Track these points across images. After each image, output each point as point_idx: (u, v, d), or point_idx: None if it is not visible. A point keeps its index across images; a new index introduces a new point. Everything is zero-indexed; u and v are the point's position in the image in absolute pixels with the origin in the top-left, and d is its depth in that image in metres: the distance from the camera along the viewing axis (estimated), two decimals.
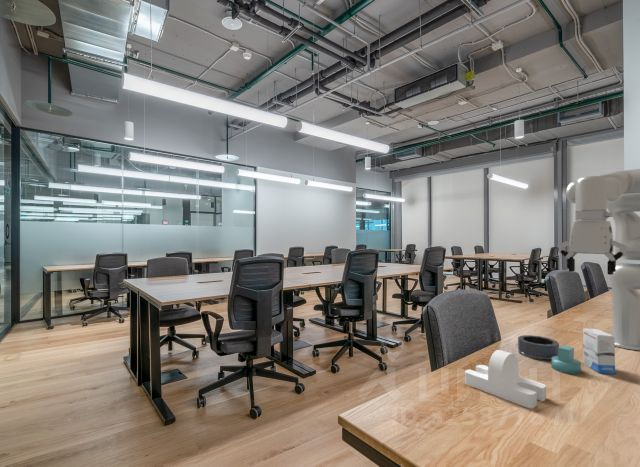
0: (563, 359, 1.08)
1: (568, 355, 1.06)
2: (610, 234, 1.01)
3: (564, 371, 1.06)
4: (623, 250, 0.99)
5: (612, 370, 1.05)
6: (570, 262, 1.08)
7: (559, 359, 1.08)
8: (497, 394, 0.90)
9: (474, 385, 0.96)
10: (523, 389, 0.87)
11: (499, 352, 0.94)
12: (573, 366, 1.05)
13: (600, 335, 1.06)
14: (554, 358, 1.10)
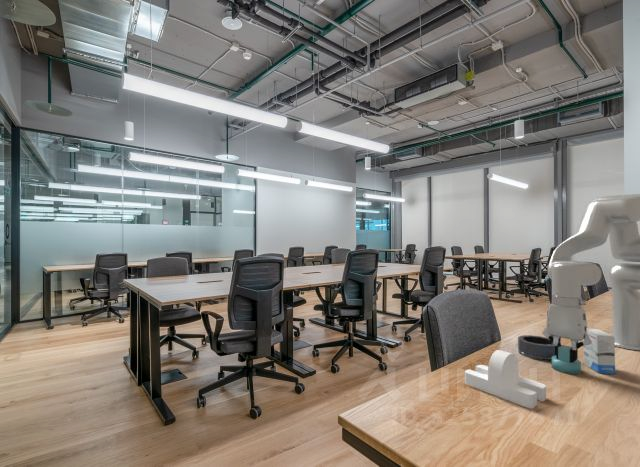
0: (563, 359, 1.08)
1: (568, 355, 1.06)
2: (584, 322, 1.04)
3: (564, 371, 1.06)
4: (585, 343, 1.04)
5: (612, 370, 1.05)
6: None
7: (559, 359, 1.08)
8: (497, 394, 0.90)
9: (474, 385, 0.95)
10: (523, 389, 0.87)
11: (499, 352, 0.94)
12: (573, 366, 1.05)
13: (600, 335, 1.06)
14: (554, 358, 1.10)
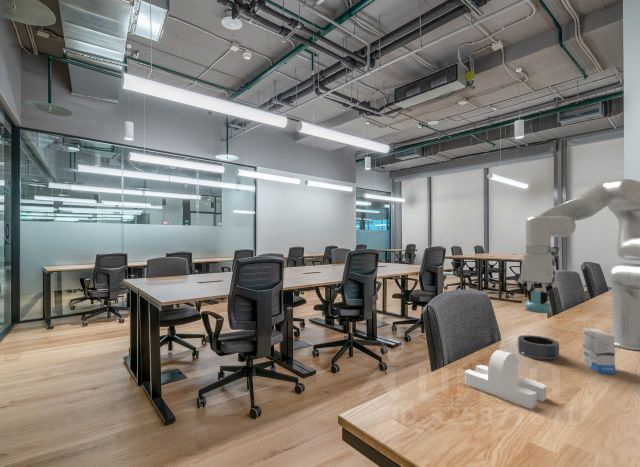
0: (535, 301, 1.21)
1: (539, 297, 1.20)
2: (553, 267, 1.18)
3: (535, 310, 1.19)
4: (554, 286, 1.18)
5: (612, 370, 1.05)
6: (530, 294, 1.23)
7: (532, 301, 1.22)
8: (497, 394, 0.90)
9: (474, 385, 0.95)
10: (523, 389, 0.87)
11: (499, 352, 0.94)
12: (543, 306, 1.18)
13: (600, 335, 1.06)
14: (527, 301, 1.24)
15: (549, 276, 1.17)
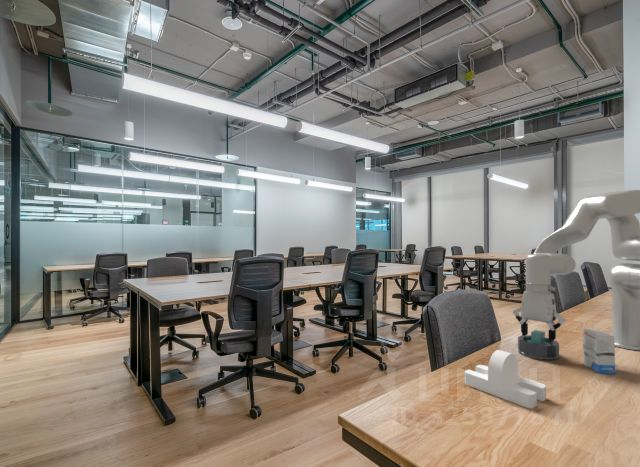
0: (535, 342, 1.21)
1: (539, 338, 1.20)
2: (553, 306, 1.18)
3: None
4: (561, 322, 1.16)
5: (612, 370, 1.05)
6: (523, 327, 1.25)
7: (532, 342, 1.22)
8: (497, 394, 0.90)
9: (474, 385, 0.95)
10: (523, 389, 0.87)
11: (499, 352, 0.94)
12: None
13: (600, 335, 1.06)
14: (528, 341, 1.24)
15: (549, 315, 1.18)
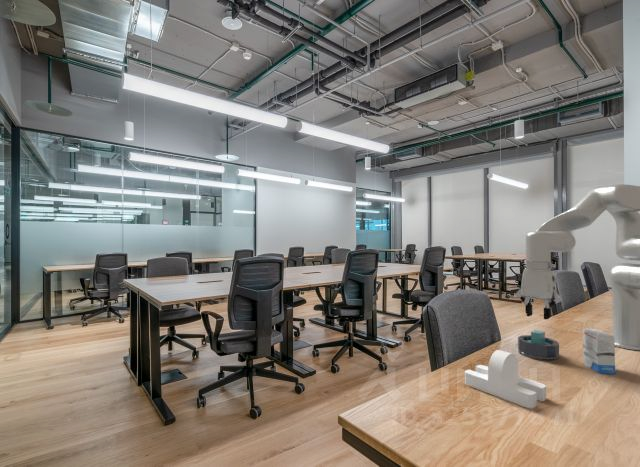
0: (535, 342, 1.21)
1: (539, 338, 1.20)
2: (553, 283, 1.18)
3: None
4: (557, 301, 1.17)
5: (612, 370, 1.05)
6: (528, 308, 1.23)
7: (532, 342, 1.22)
8: (497, 394, 0.90)
9: (474, 385, 0.95)
10: (523, 389, 0.87)
11: (499, 352, 0.94)
12: None
13: (600, 335, 1.06)
14: (528, 341, 1.24)
15: (549, 292, 1.18)
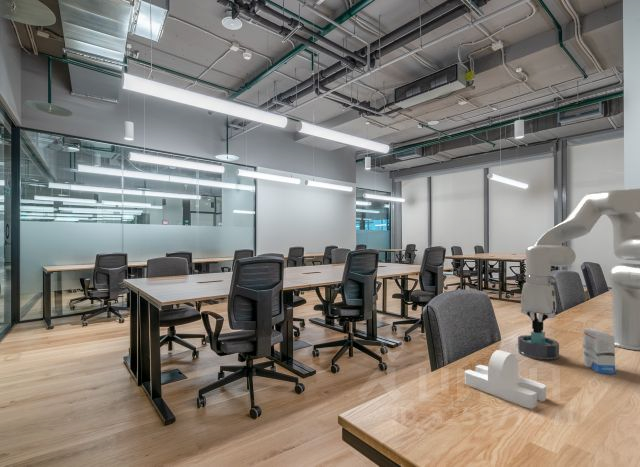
0: (535, 342, 1.21)
1: (539, 338, 1.20)
2: (553, 297, 1.18)
3: None
4: (549, 317, 1.19)
5: (612, 370, 1.05)
6: (534, 324, 1.22)
7: (532, 342, 1.22)
8: (497, 394, 0.90)
9: (474, 385, 0.95)
10: (523, 389, 0.87)
11: (499, 352, 0.94)
12: None
13: (600, 335, 1.06)
14: (528, 341, 1.24)
15: (549, 307, 1.18)
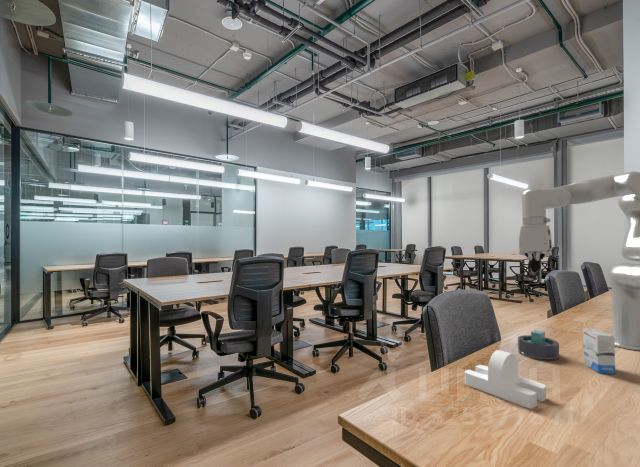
0: (535, 342, 1.21)
1: (539, 338, 1.20)
2: (549, 236, 1.25)
3: None
4: (546, 254, 1.26)
5: (612, 370, 1.05)
6: (532, 263, 1.28)
7: (532, 342, 1.22)
8: (497, 394, 0.90)
9: (474, 385, 0.95)
10: (523, 389, 0.87)
11: (499, 352, 0.94)
12: None
13: (600, 335, 1.06)
14: (528, 341, 1.24)
15: (545, 245, 1.24)
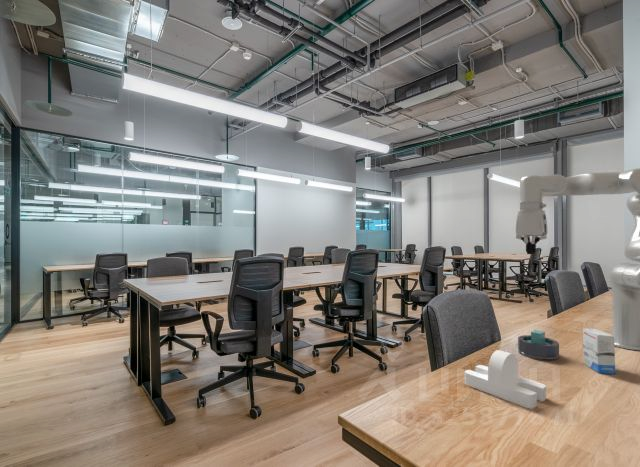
0: (535, 342, 1.21)
1: (539, 338, 1.20)
2: (544, 220, 1.31)
3: None
4: (541, 238, 1.32)
5: (612, 370, 1.05)
6: (528, 246, 1.34)
7: (532, 342, 1.22)
8: (497, 394, 0.90)
9: (474, 385, 0.95)
10: (523, 389, 0.87)
11: (499, 352, 0.94)
12: None
13: (600, 335, 1.06)
14: (528, 341, 1.24)
15: (540, 229, 1.30)
